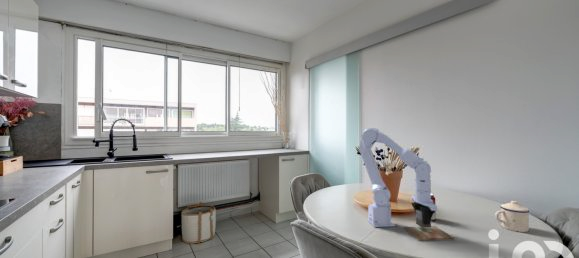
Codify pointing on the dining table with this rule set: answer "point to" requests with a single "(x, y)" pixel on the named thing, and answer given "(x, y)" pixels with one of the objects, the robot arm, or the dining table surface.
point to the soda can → (434, 203)
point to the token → (421, 219)
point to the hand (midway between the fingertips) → (423, 222)
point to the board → (428, 233)
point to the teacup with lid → (514, 217)
